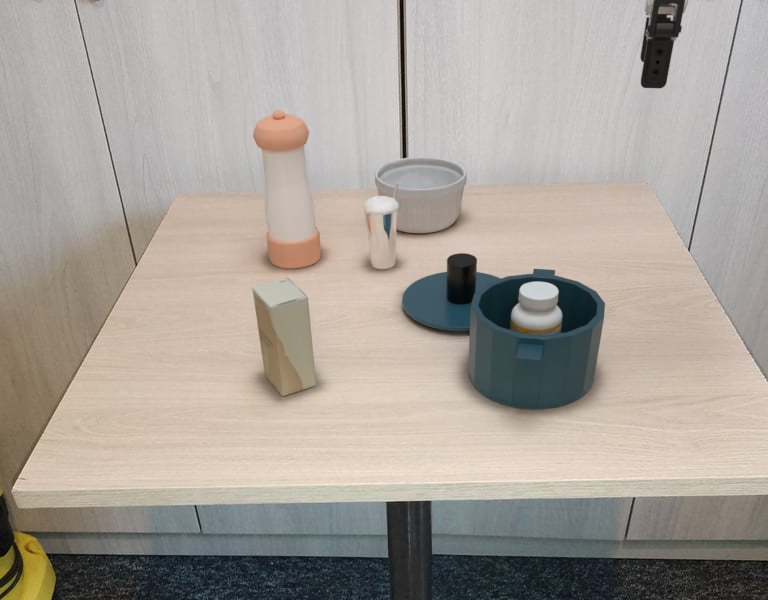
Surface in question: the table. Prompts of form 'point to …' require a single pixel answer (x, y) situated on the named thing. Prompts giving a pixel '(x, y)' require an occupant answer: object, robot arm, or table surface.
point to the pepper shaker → (287, 191)
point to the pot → (534, 345)
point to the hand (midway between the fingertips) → (651, 73)
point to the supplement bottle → (537, 310)
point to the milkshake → (382, 229)
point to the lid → (446, 294)
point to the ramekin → (423, 192)
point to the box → (285, 335)
